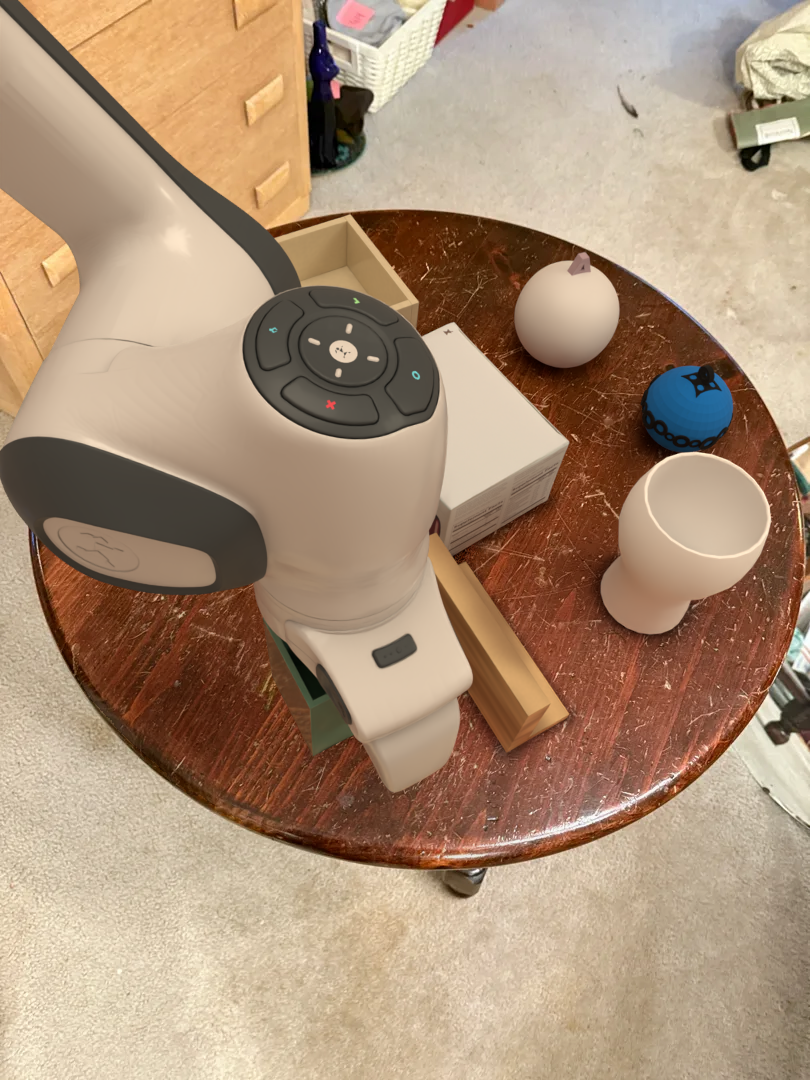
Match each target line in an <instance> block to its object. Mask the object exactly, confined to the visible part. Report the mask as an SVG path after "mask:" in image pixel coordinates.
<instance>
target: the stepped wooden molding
mask: <svg viewBox="0 0 810 1080" xmlns="http://www.w3.org/2000/svg"><path fill="white" fill-rule="evenodd" d="M428 557H429V558H430V560H431V562H432V565H433V569H434V572H435V576H436V580H437V585H438V588H439V592H440V596H441V599H442V602H443V605H444V608H445V610H446V612H447V614H448V617H449V619H450V621H451V624H452V626H453V628H454V631H455V633H456V635H457V637H458V640H459V642H460V644H461V646H462V648H463V651H464V654H465V656H466V658H467V660H468V662H469V664H470V667H471V670H472V674H473V681H472V685H471V687H470V688H469V689H468V690H466V691H467V692H468V694H469V696H470V698H471V699H472V701H473V702H474V703H475V705H476V707H477V708H478V710H479V712H480V713H481V715H482V716H483V719H485V721H486V722H487V724H488V726H489V728H490V729H491V730H492V731H491V732H492V733H493V734H494V735H495V737H496V739H497V740H498V742H499V743H500V745H501V747H502V748H503V750H504V751H505V753H509V752H510V751H512V750H515V749H516V748H518V747H519V746H521V745H523V744H525V743H526V742H527V741H529V740H531V739H533V738H535V737H537V736H538V735H540V734H542V733H543V732H545V731H547V730H549V729H550V728H552V727H554V726H556V725H557V724H559V723H561V722H563V721H564V720H566V719H567V718H568V717H569V716H570V713H569V711H568V710H567V708H566V707H565V706H564V703H563V702H562V701H561V700H560V697H558V695H557V694H556V692H555V691H554V689H553V687H552V686H551V684H550V683H549V682H548V680H547V679H546V677H545V676H544V675H543V673H542V671H541V670H540V668H539V667H538V665H537V664H536V662H535V661H534V659H533V658H532V656H531V655H530V654H529V652H528V651H527V650H526V648H525V646H524V645H523V643H522V642H521V641H520V639H519V638H518V636H517V635H516V633H515V631H514V630H513V629H512V627H511V626H510V624H509V623H508V621H507V620H506V618H505V616H504V615H503V614H502V613H501V611H500V609H499V608H498V607H497V605H496V604H495V602H494V600H493V599H492V598H491V596H490V595H489V594H488V592H487V590H486V589H485V587H484V585H482V583H481V581H480V580H479V579H478V577H477V575H476V574H475V572H474V571H473V570H472V569H471V567H470V565H469V564H468V562H467V561H463V562H461V563H459V564H458V562H457V561H456V560H455V558H454V557H453V556H452V555H451V554H450V552H449V551H448V549H447V548H446V546H445V545H444V543H443V542H442V540H441V539H440V537H439V536H438V534H437V533H434V534H431V535H429V552H428Z"/></svg>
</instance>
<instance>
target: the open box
mask: <svg viewBox="0 0 810 1080" xmlns="http://www.w3.org/2000/svg"><path fill="white" fill-rule="evenodd" d="M274 238H275V240H276V241H277V242H278V243H279V244H280V246H281V247H282V248H283V250H284V251H285V252H286V254H287V255H288V257H289V259H290V260H291V262H292V264H293V266H294V268H295V270H296V272H297V274H298V277H299V280H300V283H301V286H302V287H304V286H314V285H327V286H337V287H344V288H348V289H352V290H356V291H359V292H362V293H365V294H367V295H370V296H372V297H374V298H376V299H378V300H380V301H382V302H384V303H385V304H387V305H389V306H390V307H392V308H393V309H395V310H396V311H397V312H399V313H400V314H401V315H402V316H403V317H405V318H406V319H407V320H408V321H409V322H410V323H411V324H412V325H413V327H414V328H415V329H416V330H417V325H418V316H419V315H418V314H419V308H420V307H419V306H420V301H419V299H417V298H416V297H415V295H414V294H413V293H412V291H411V290H410V289H409V287H408V286H407V285H406V284H405V282H404V280H402V279H401V277H400V276H399V274H398V273H397V272H396V271H395V269H394V268H393V267H392V266H391V264H390V263H389V261H388V260H387V259H386V258H385V257H384V255H383V254H382V252H381V251H380V250H379V249H378V247H377V246H376V245H375V244H374V242H373V241H372V240H371V239H370V237H369V236H368V235H367V234H366V233H365V231H364V230H363V228H362V227H361V226H360V224H358V222H357V221H356V220H355V218H354V217H353V215H351V214H347V215H344V216H341V217H338V218H334V219H331V220H328V221H325V222H322V223H318V224H315V225H312V226H309V227H305V228H302V229H299V230H296V231H292V232H289V233H286V234H283V235H279V236H277V237H274Z"/></svg>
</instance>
